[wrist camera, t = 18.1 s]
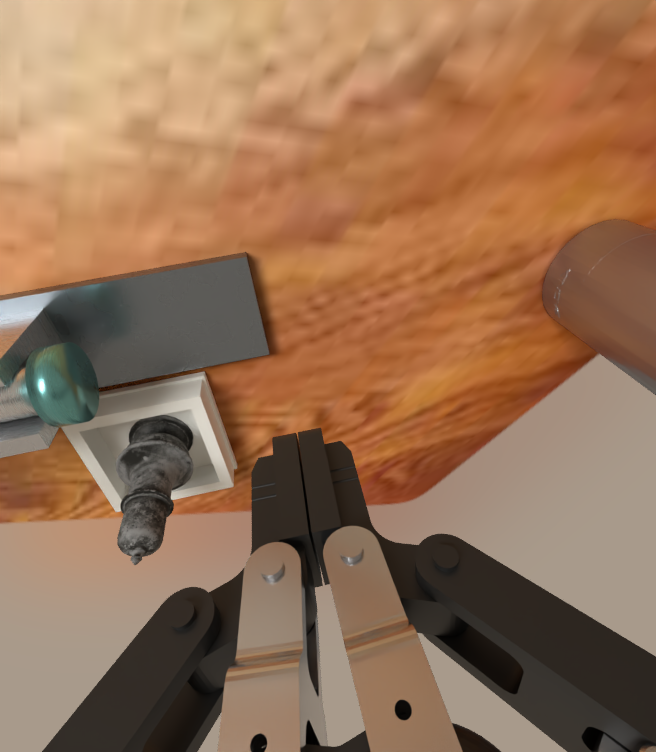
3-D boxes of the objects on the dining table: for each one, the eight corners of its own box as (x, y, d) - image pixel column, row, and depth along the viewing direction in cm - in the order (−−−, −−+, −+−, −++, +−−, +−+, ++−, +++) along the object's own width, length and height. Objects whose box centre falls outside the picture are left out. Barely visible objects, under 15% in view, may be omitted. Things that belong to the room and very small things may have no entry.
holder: (204, 371, 35) (202, 393, 32) (237, 463, 41) (237, 487, 39) (66, 398, 34) (53, 422, 32) (121, 488, 40) (114, 514, 38)
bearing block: (246, 252, 30) (248, 302, 23) (268, 348, 35) (276, 413, 28) (-82, 310, 28) (-184, 382, 22) (-12, 402, 33) (-78, 487, 26)
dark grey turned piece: (190, 466, 40) (174, 591, 30) (121, 457, 38) (81, 589, 28) (203, 418, 37) (190, 539, 27) (129, 406, 35) (88, 532, 25)
